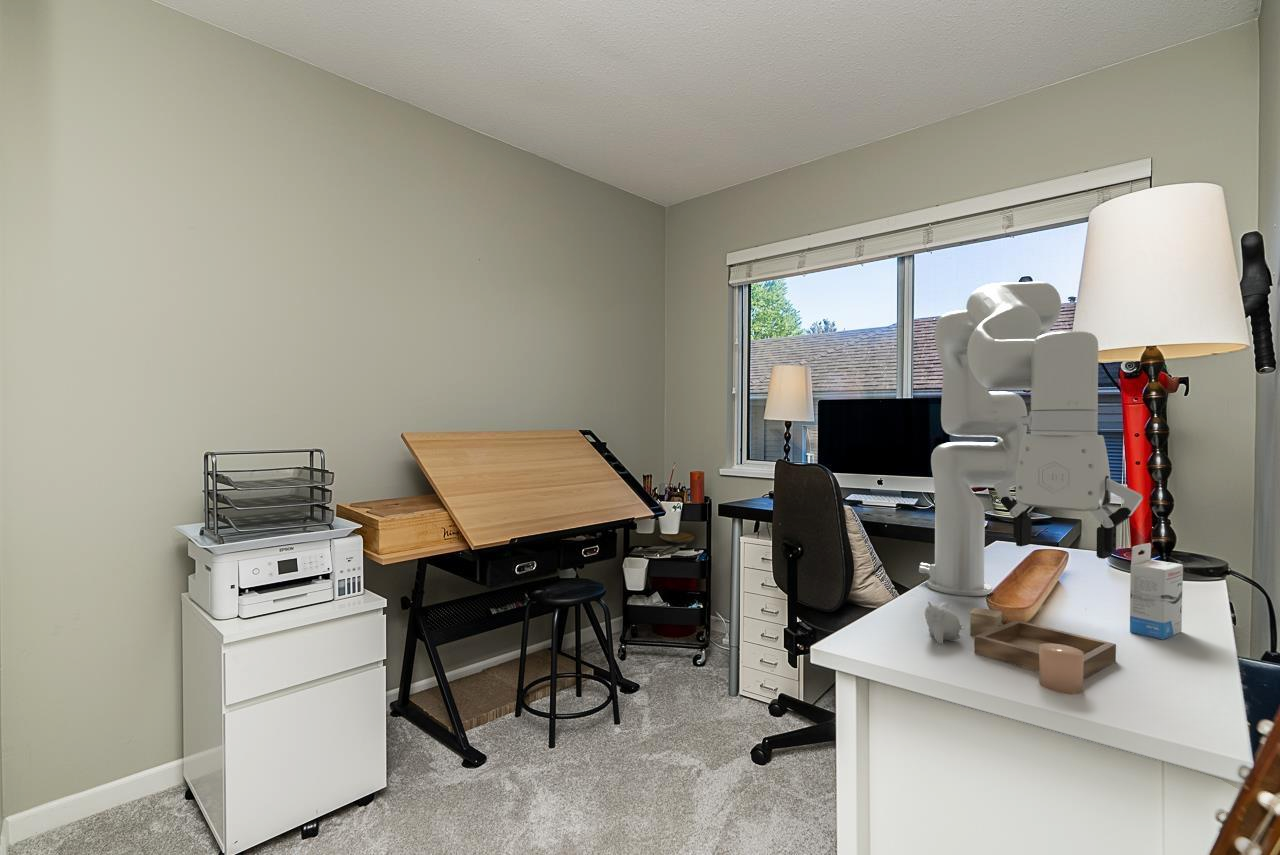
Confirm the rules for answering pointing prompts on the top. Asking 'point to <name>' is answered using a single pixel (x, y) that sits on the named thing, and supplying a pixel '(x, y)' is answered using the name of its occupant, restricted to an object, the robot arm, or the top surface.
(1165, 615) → the ink box
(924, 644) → the top surface
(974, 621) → the oak block
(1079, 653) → the oval beige cylinder
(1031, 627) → the walnut tray
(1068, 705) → the top surface
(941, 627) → the figurine
